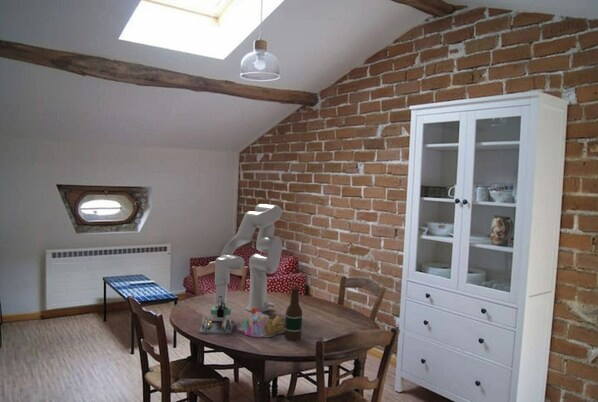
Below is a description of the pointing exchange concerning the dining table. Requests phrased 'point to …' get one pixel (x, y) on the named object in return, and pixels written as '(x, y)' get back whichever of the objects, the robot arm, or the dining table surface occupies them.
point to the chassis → (216, 326)
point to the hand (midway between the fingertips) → (221, 314)
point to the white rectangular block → (219, 318)
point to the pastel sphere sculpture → (261, 325)
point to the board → (226, 309)
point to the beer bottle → (293, 317)
